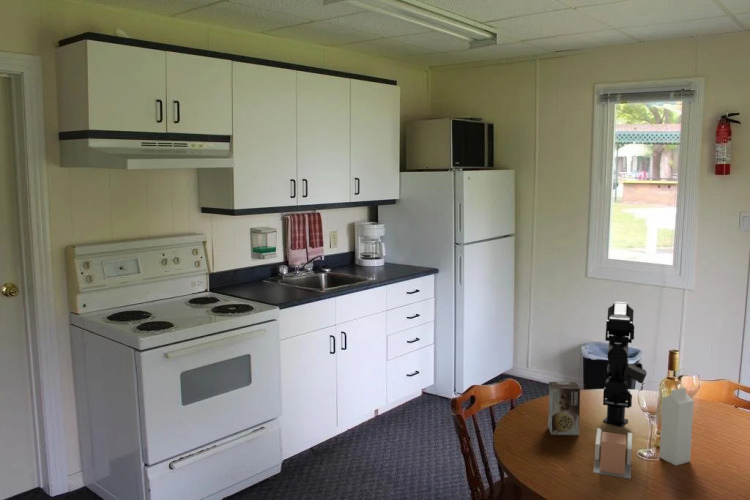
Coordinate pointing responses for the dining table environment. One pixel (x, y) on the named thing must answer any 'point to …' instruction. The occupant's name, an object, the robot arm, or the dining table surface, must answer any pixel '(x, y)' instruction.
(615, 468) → the block
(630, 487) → the dining table surface
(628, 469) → the chute
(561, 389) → the coffee box
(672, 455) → the milk
